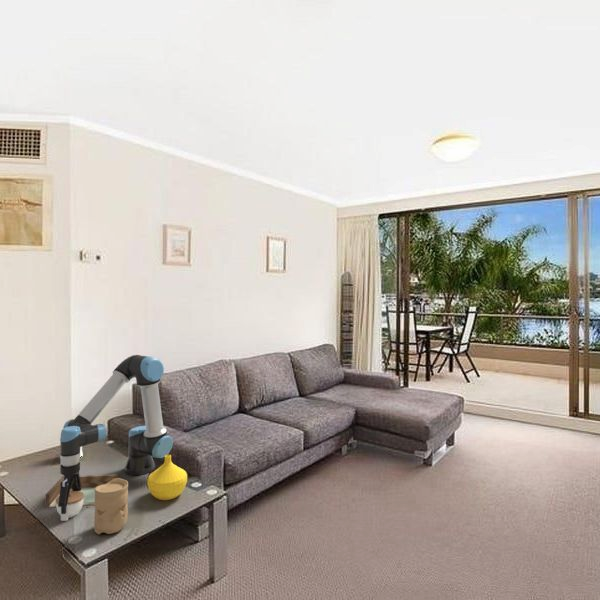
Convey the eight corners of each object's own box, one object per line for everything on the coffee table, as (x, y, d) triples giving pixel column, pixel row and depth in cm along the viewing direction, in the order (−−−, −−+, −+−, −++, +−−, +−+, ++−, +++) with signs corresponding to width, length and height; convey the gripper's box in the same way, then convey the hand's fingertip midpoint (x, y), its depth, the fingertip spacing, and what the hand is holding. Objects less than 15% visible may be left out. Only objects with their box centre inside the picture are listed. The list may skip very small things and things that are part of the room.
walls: (118, 486, 210) (118, 474, 209) (106, 504, 192) (106, 491, 192) (62, 488, 206) (62, 476, 206) (45, 507, 188) (45, 494, 188)
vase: (146, 490, 206) (146, 451, 205) (184, 483, 213) (184, 446, 213) (148, 508, 189) (148, 466, 189) (189, 500, 196) (190, 460, 196)
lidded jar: (64, 523, 176) (64, 501, 175) (50, 515, 181) (50, 494, 181) (88, 512, 185) (89, 491, 184) (75, 505, 190) (75, 485, 190)
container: (87, 532, 169) (87, 489, 169) (111, 517, 181) (111, 476, 181) (111, 540, 165) (111, 494, 164) (134, 523, 177) (134, 481, 176)
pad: (112, 487, 206) (112, 487, 206) (102, 502, 192) (102, 501, 192) (81, 489, 204) (81, 488, 204) (70, 503, 190) (70, 503, 190)
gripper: (71, 453, 193) (71, 500, 194) (48, 475, 170) (48, 528, 171) (89, 452, 194) (88, 499, 195) (68, 474, 171) (68, 527, 172)
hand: (69, 513), depth 183 cm, fingers closed on lidded jar, 11 cm apart
